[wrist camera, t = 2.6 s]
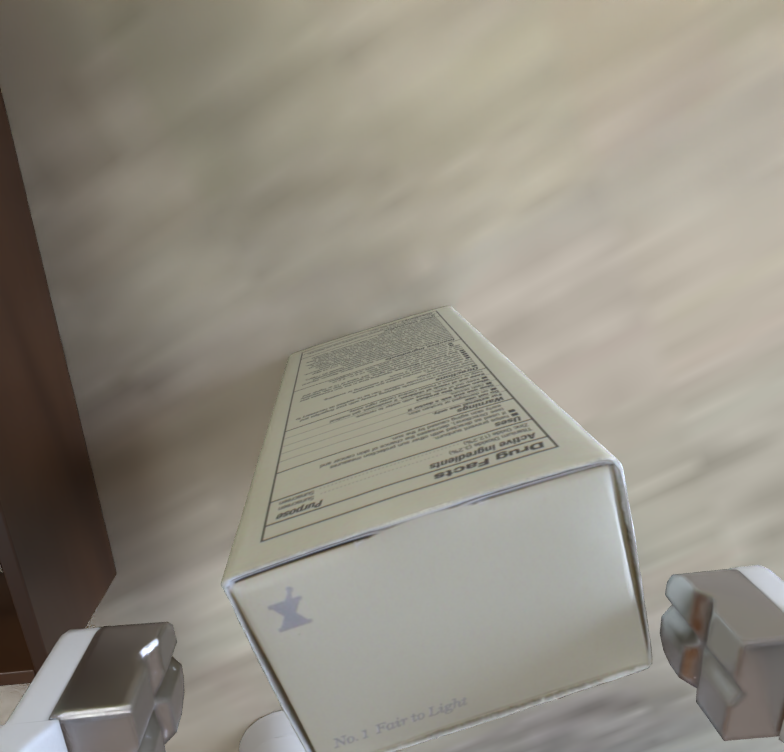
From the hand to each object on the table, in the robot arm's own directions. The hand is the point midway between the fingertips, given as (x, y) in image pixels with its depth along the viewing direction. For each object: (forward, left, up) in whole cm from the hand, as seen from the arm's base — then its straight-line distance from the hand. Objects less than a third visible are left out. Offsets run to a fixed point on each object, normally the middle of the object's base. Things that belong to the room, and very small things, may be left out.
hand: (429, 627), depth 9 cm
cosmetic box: (0, 0, -12) cm, 12 cm away
